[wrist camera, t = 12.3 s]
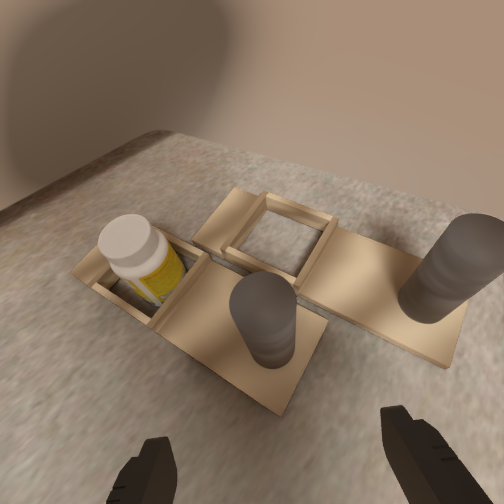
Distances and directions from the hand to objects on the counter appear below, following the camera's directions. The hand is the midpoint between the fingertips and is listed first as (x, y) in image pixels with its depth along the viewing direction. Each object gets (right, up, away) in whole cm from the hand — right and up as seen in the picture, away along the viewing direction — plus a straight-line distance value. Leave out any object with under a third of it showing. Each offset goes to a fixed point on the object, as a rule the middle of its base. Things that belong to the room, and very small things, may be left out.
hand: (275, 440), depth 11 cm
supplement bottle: (-9, +4, +18) cm, 20 cm away
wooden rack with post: (-7, +3, +16) cm, 18 cm away
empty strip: (+5, +6, +17) cm, 19 cm away
